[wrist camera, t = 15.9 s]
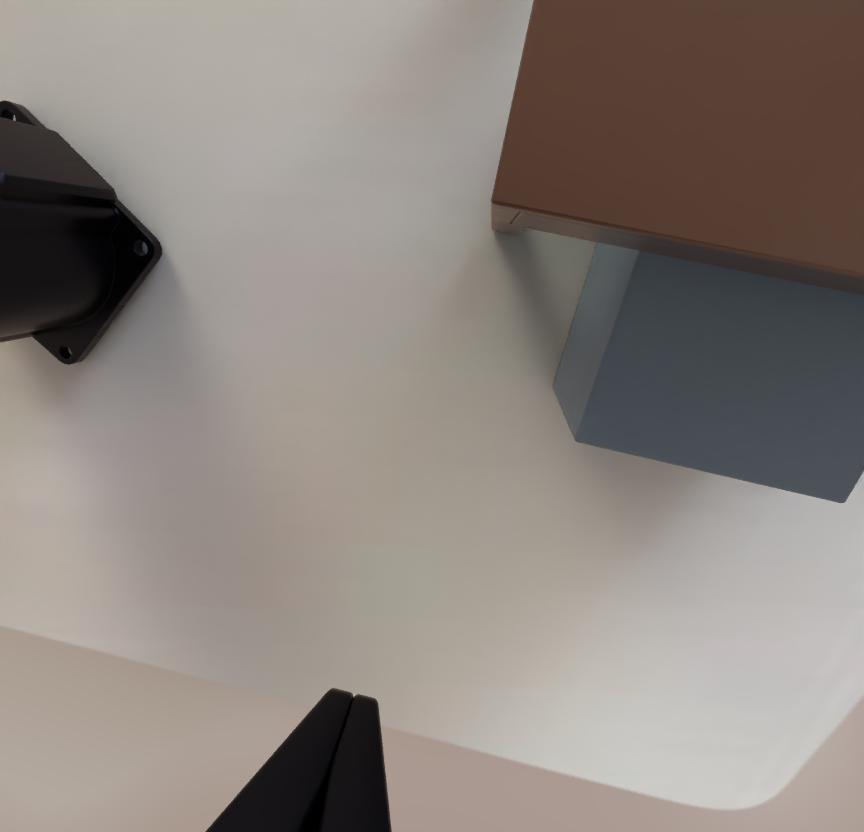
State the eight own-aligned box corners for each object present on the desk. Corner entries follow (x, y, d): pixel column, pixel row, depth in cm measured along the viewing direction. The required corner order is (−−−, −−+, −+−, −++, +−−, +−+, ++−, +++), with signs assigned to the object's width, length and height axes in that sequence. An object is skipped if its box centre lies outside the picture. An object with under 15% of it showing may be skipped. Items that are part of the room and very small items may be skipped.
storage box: (746, 432, 17) (845, 505, 12) (551, 388, 17) (574, 442, 12) (992, -77, 12) (1325, -292, 7) (710, -128, 12) (849, -366, 7)
